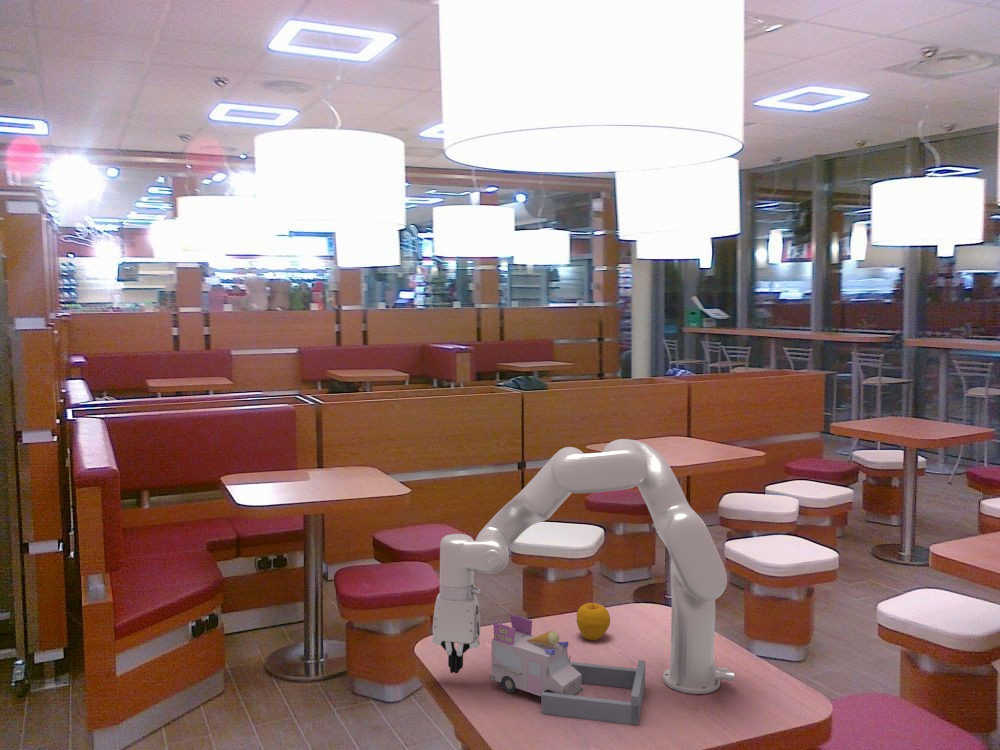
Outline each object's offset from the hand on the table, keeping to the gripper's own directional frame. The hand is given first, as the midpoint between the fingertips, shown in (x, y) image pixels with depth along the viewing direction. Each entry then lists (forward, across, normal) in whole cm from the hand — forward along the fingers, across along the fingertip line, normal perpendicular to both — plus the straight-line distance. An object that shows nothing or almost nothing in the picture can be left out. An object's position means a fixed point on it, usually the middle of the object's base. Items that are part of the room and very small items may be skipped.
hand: (455, 670), depth 195 cm
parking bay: (+3, -31, 0) cm, 31 cm away
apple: (+3, -26, -34) cm, 43 cm away
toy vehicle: (+3, -18, 0) cm, 19 cm away
